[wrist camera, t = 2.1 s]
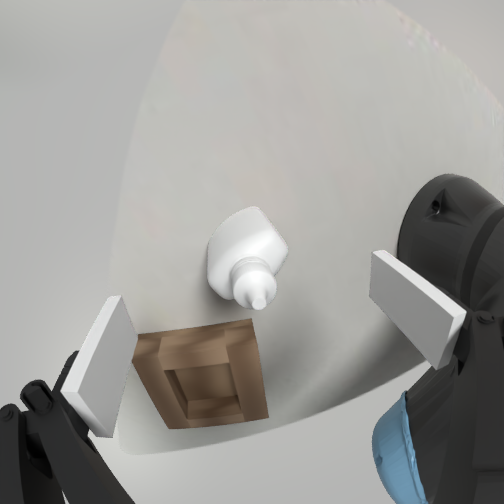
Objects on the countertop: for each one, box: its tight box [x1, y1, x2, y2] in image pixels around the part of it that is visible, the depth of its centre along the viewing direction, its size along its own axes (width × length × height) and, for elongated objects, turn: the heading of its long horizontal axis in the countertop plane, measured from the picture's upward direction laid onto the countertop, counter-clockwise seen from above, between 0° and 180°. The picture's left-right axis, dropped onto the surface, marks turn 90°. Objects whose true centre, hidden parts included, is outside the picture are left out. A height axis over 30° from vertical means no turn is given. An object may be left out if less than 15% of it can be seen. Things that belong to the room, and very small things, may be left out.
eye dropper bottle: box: [207, 206, 288, 310], centre depth 19 cm, size 4×6×12 cm
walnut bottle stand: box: [132, 319, 269, 429], centre depth 28 cm, size 12×12×4 cm
